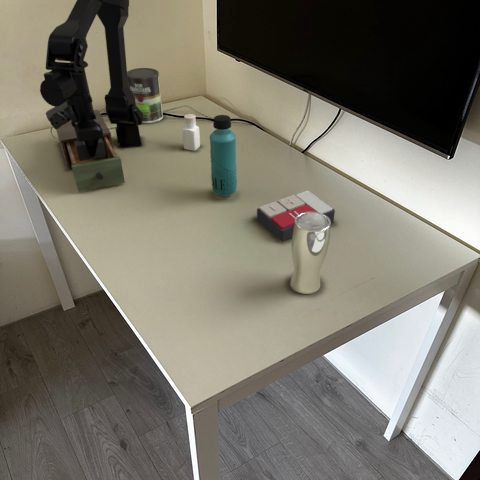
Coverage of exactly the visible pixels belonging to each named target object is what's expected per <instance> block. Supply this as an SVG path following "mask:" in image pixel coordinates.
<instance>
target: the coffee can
mask: <svg viewBox="0 0 480 480" xmlns="http://www.w3.org/2000/svg"><path fill="white" fill-rule="evenodd" d="M159 72H160V71H158V70H157V69H155V68H151V67H138V68H133V69H130V70H127V78H128V87H129V89H130V91H131V92H132V94H133V95H134V97H135V102H136V106H137V107H138V108H139V110H140V111H141V112H142V113H143V121H142V124H154V123H157V122H160V121H162V120H163V118H164V114H163V105H162V95H161V86H160V85H161V83H160V76H159V75H160V73H159Z"/></svg>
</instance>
